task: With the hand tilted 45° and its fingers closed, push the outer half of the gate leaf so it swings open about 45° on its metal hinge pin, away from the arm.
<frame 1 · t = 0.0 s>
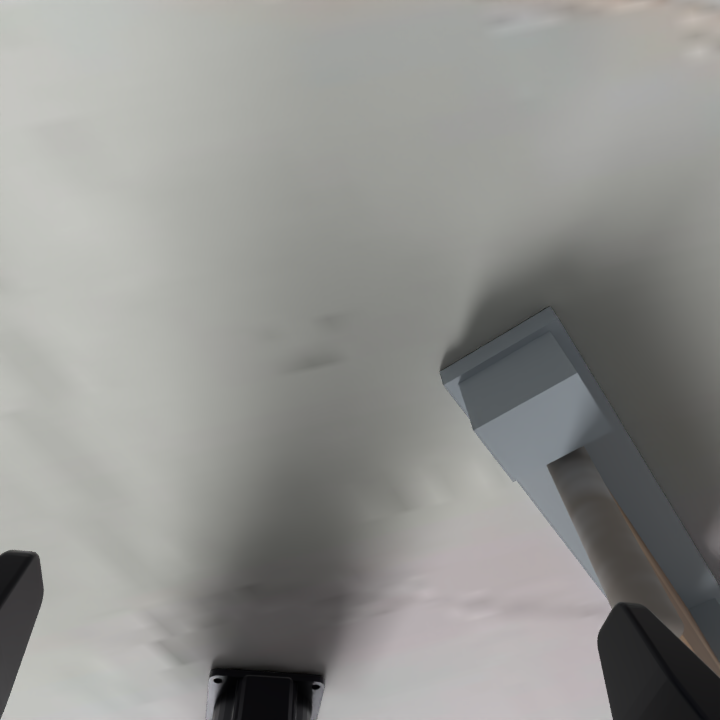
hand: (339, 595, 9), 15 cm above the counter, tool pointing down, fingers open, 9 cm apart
gate frame: (543, 413, 26), on the counter
gate leaf: (666, 617, 24), point 6 cm above the counter, hinge at 0.0°
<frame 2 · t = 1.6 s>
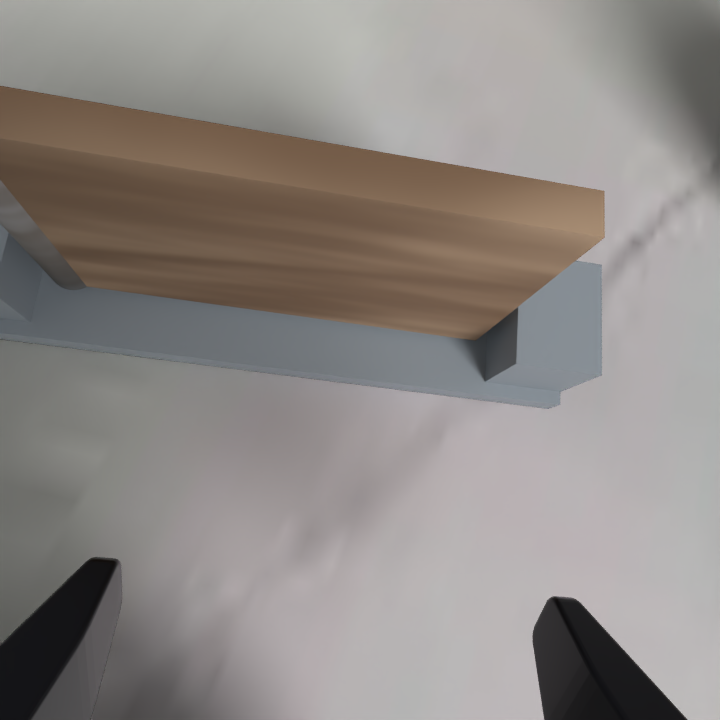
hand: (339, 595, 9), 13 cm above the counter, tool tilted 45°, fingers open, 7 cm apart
gate frame: (87, 283, 23), on the counter
gate leaf: (273, 244, 18), point 6 cm above the counter, hinge at 0.0°
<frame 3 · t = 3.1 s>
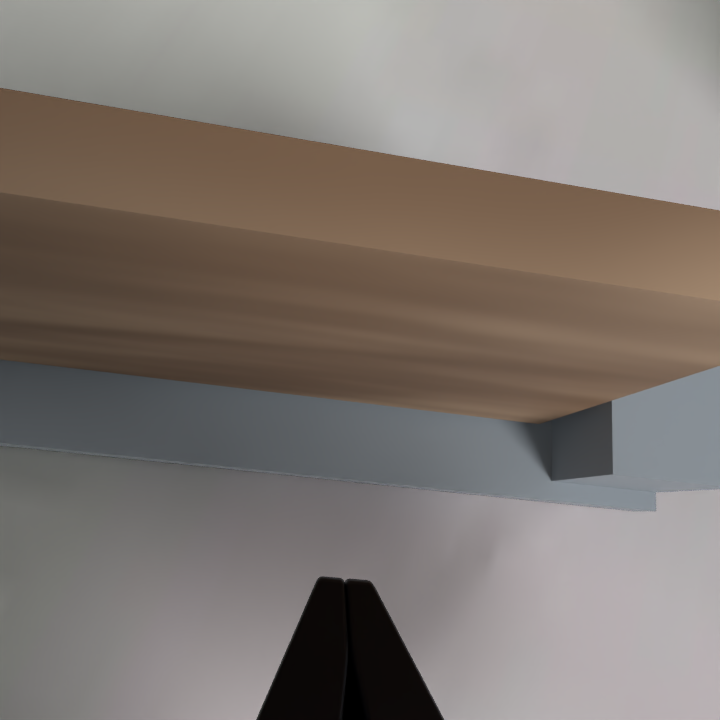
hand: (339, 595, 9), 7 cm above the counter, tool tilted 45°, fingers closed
gate leaf: (244, 308, 11), point 6 cm above the counter, hinge at 0.0°
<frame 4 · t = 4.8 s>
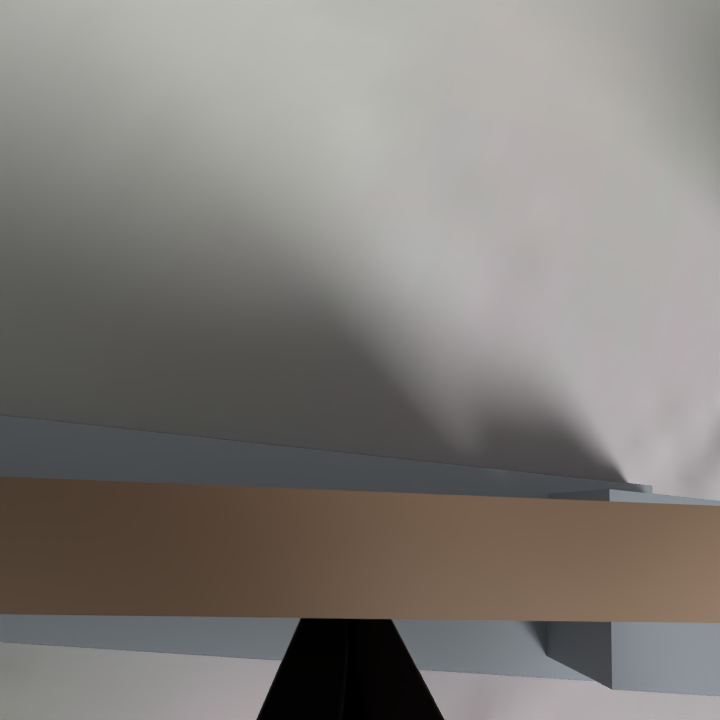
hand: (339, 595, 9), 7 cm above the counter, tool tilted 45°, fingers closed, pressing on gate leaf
gate leaf: (209, 533, 10), point 6 cm above the counter, hinge at 3.4°, touching gripper
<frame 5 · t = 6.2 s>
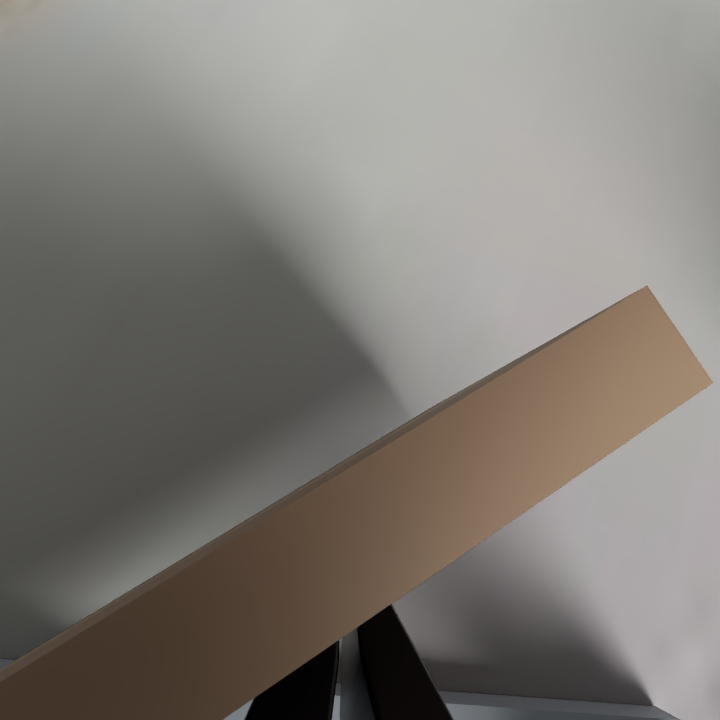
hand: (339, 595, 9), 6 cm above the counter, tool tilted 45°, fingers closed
gate leaf: (102, 659, 9), point 6 cm above the counter, hinge at 37.3°, touching gripper
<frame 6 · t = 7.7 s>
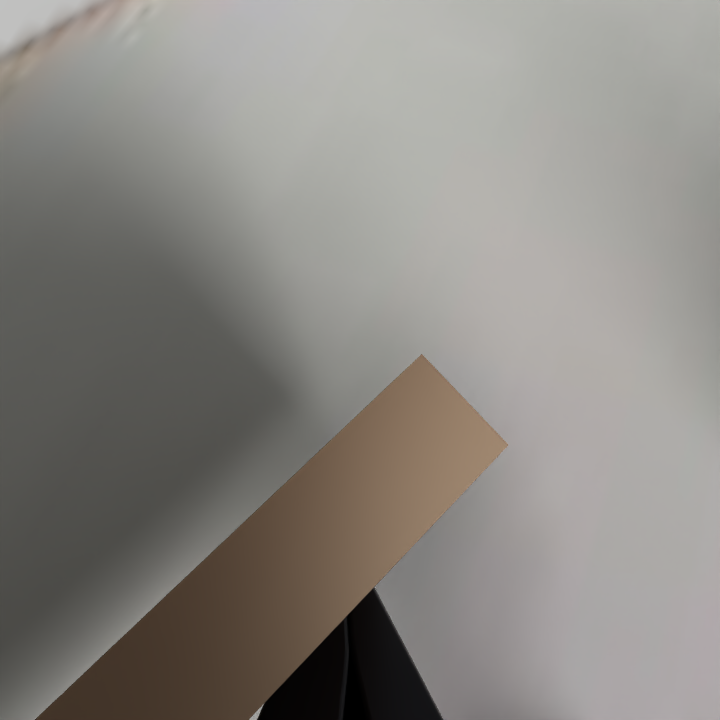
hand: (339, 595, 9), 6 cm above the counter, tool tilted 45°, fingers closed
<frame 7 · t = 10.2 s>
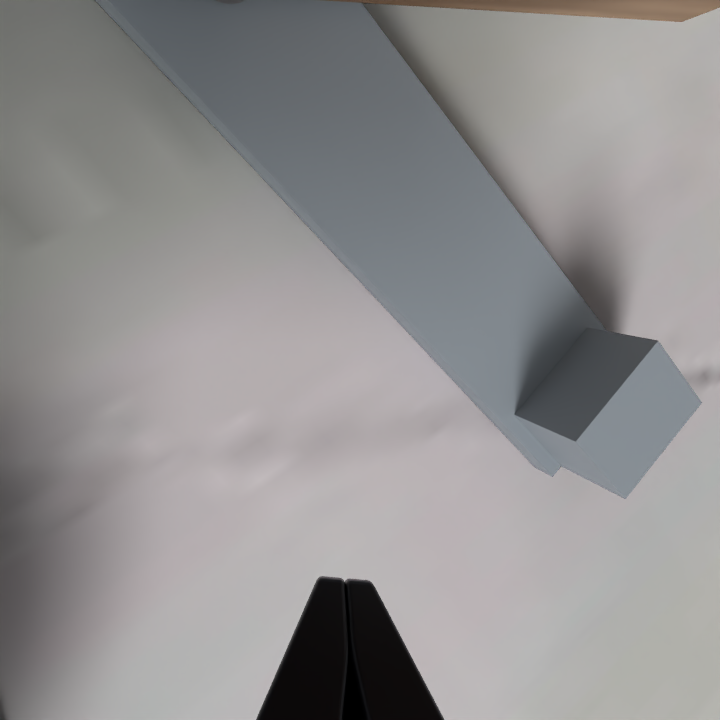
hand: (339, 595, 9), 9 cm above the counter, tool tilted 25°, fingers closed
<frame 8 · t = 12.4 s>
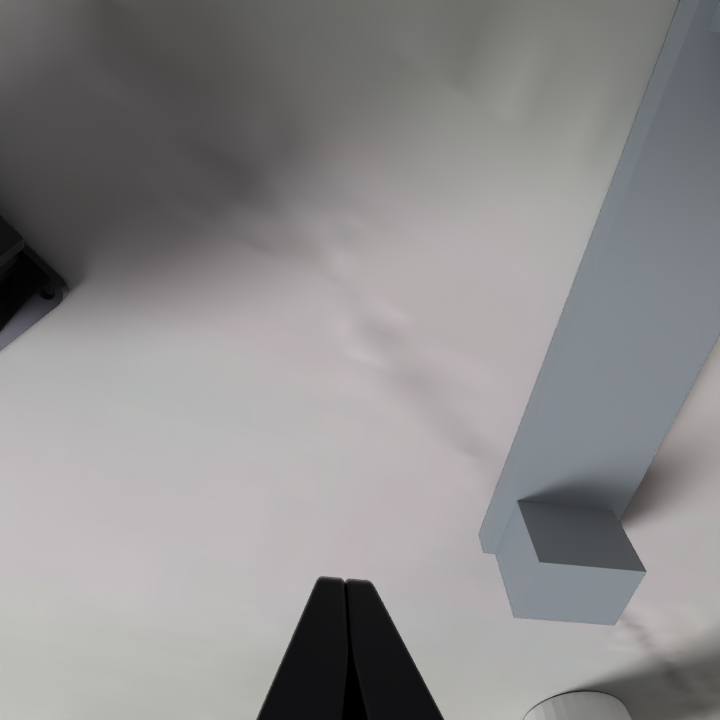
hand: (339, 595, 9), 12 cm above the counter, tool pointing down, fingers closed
coffee cup: (572, 717, 34), on the counter
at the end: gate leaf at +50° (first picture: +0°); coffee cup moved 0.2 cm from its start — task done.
